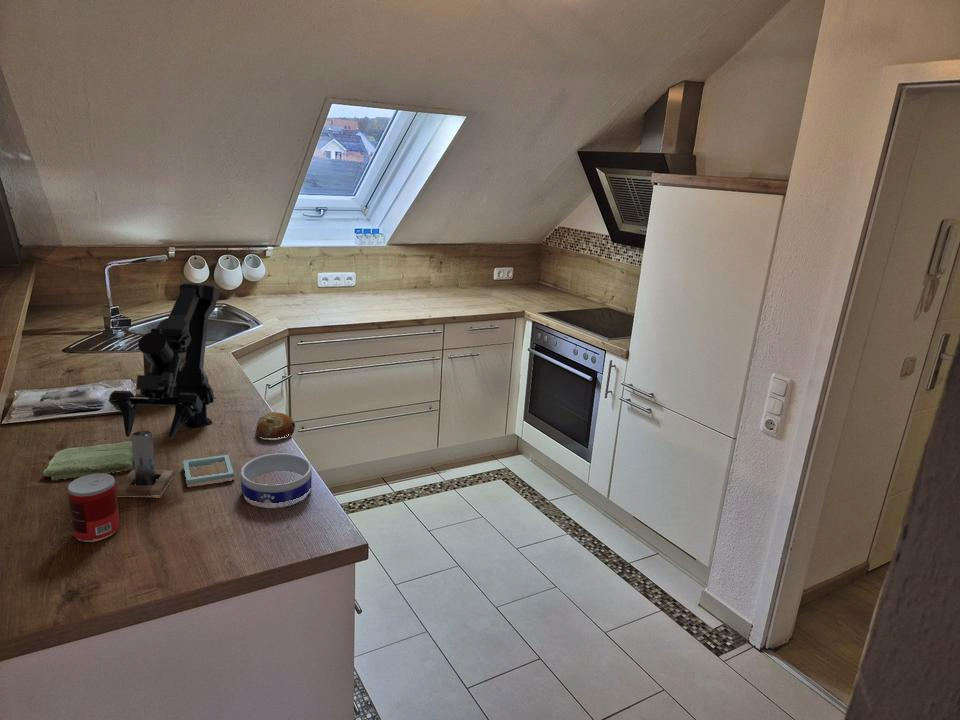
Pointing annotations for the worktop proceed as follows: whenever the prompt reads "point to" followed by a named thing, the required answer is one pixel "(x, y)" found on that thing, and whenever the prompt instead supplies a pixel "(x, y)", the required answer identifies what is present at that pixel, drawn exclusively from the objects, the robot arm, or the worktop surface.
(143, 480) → the steel pin
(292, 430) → the bread roll
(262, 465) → the dog bowl
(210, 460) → the cradle tray
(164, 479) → the walnut collar
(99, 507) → the canned food
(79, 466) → the washcloth
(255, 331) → the worktop surface
